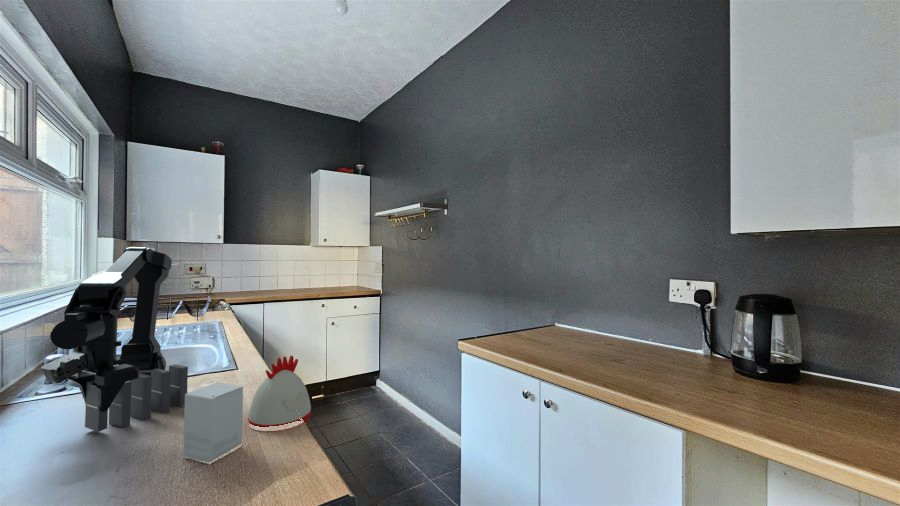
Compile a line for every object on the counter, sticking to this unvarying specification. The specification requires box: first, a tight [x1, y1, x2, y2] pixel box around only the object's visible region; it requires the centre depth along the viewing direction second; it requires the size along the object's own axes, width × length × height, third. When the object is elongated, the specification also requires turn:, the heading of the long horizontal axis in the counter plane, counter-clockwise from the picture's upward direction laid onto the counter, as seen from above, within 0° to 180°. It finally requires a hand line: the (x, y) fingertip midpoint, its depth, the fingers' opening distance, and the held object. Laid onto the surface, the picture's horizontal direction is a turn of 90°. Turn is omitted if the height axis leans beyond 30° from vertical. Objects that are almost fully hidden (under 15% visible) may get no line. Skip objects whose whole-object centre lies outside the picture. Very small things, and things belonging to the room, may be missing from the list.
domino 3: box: [130, 373, 152, 421], centre depth 88 cm, size 2×5×10 cm, turn 69°
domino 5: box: [168, 363, 189, 408], centre depth 96 cm, size 2×5×10 cm, turn 69°
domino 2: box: [108, 381, 131, 429], centre depth 84 cm, size 2×5×10 cm, turn 69°
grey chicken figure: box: [247, 355, 312, 427], centre depth 90 cm, size 14×14×15 cm
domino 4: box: [151, 369, 171, 414], centre depth 92 cm, size 2×5×10 cm, turn 69°
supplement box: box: [182, 382, 244, 462], centre depth 74 cm, size 7×7×13 cm
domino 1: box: [84, 380, 109, 433], centre depth 81 cm, size 2×5×10 cm, turn 69°
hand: (97, 409), depth 81 cm, fingers closed on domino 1, 5 cm apart
